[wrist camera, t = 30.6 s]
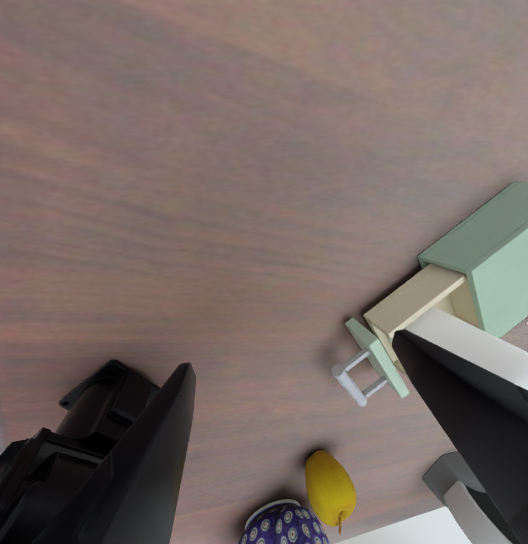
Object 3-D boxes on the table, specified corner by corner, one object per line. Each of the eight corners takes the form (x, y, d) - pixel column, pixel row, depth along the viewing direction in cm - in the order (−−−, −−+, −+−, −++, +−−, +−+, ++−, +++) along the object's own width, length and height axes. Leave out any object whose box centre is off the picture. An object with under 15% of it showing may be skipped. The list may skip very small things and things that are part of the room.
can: (413, 290, 24) (581, 367, 13) (438, 315, 27) (596, 397, 16) (375, 332, 25) (505, 438, 14) (403, 353, 28) (531, 456, 17)
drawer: (350, 393, 29) (371, 422, 26) (312, 348, 25) (331, 374, 21) (454, 314, 29) (490, 331, 25) (435, 253, 25) (475, 263, 21)
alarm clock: (480, 454, 49) (618, 585, 33) (452, 484, 51) (570, 622, 35) (441, 449, 44) (585, 605, 27) (412, 483, 46) (529, 648, 29)
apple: (298, 475, 34) (323, 551, 27) (296, 450, 32) (322, 525, 24) (334, 461, 35) (367, 530, 28) (334, 436, 33) (370, 504, 26)
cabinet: (440, 320, 30) (488, 346, 25) (417, 256, 25) (471, 271, 20) (520, 259, 30) (585, 272, 25) (512, 182, 25) (592, 178, 20)
